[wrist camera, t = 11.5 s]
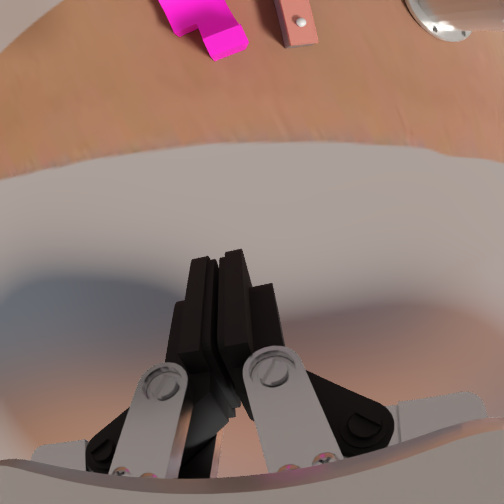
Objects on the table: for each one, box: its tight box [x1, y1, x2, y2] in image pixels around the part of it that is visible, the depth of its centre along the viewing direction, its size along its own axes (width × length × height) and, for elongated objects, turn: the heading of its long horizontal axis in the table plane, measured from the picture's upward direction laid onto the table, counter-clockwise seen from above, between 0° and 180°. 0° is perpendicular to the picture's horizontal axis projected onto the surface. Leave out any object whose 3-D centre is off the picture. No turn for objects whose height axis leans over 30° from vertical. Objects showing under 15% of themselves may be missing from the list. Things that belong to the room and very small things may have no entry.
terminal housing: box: [274, 0, 319, 49], centre depth 26 cm, size 3×9×4 cm, turn 12°
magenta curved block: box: [159, 0, 249, 61], centre depth 23 cm, size 15×6×8 cm, turn 22°
